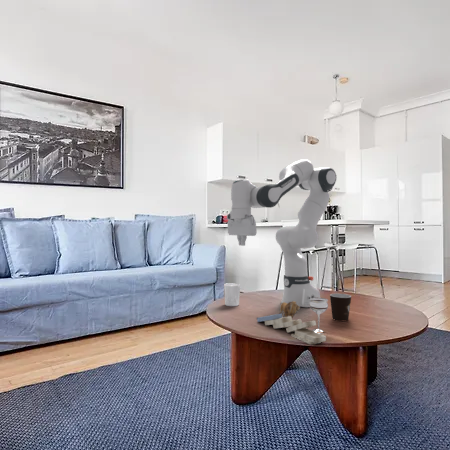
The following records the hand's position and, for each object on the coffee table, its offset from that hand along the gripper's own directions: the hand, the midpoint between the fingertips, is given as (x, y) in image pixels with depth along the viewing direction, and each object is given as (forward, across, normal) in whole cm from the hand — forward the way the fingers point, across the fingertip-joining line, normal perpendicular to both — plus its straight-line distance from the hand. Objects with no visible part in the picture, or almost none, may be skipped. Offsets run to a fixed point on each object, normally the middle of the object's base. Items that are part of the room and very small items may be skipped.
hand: (242, 245), depth 157 cm
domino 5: (+31, -37, -1) cm, 48 cm away
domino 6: (+29, -38, -2) cm, 48 cm away
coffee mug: (+32, -28, -33) cm, 53 cm away
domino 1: (+30, -16, 0) cm, 34 cm away
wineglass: (+31, -37, -11) cm, 49 cm away
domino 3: (+30, -26, 0) cm, 39 cm away
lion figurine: (+31, -20, -10) cm, 38 cm away
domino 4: (+30, -33, -1) cm, 44 cm away
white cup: (+30, +15, -2) cm, 34 cm away
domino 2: (+30, -21, 0) cm, 36 cm away
